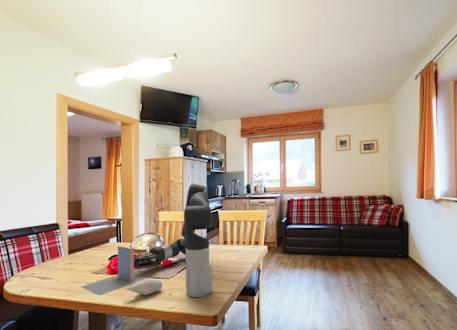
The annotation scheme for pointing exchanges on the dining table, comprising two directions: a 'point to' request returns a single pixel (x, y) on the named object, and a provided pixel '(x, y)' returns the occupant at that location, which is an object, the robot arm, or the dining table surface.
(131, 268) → the tile
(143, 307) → the dining table surface
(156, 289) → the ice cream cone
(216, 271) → the dining table surface
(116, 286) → the mat
